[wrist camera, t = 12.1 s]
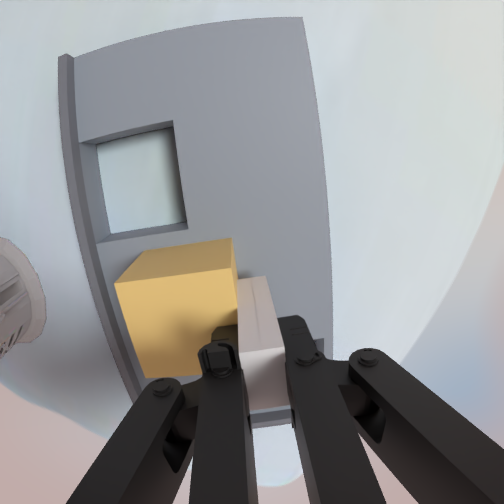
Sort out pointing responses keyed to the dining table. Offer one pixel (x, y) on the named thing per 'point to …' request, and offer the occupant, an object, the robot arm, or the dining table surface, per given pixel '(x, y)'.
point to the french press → (19, 298)
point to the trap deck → (208, 165)
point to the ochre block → (178, 303)
